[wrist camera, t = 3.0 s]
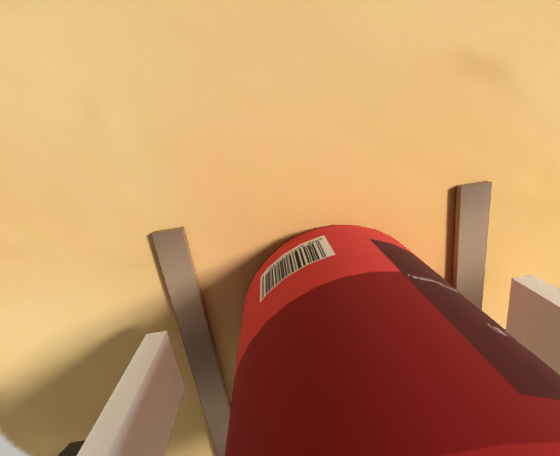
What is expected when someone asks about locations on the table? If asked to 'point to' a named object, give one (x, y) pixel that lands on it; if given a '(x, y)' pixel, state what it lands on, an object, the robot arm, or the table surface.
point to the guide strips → (195, 323)
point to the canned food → (379, 360)
